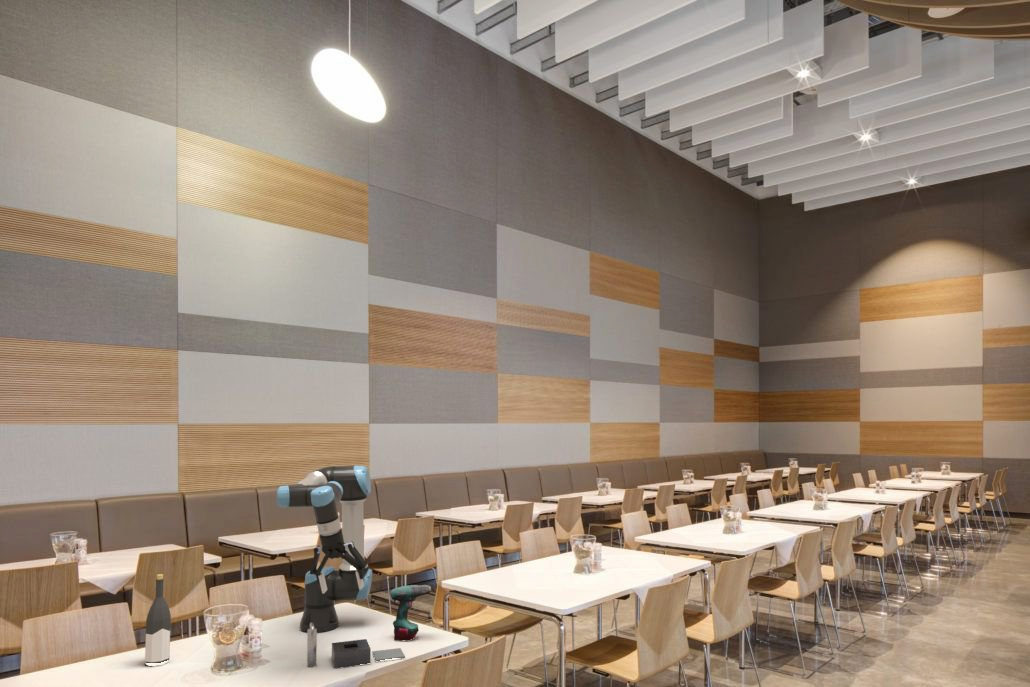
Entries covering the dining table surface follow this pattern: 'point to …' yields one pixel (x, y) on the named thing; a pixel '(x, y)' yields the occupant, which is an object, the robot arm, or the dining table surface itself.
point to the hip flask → (311, 646)
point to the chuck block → (351, 653)
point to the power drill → (406, 610)
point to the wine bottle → (158, 627)
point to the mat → (388, 654)
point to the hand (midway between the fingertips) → (343, 589)
